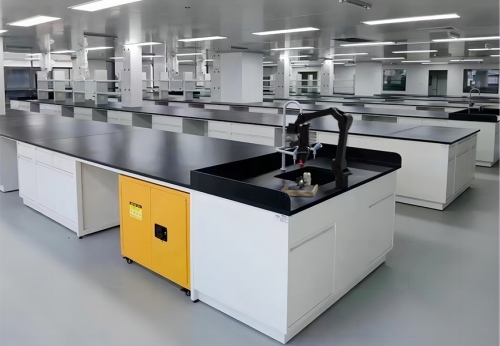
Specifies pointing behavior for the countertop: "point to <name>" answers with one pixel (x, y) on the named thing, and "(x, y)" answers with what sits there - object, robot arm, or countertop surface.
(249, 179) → the countertop surface
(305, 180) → the valve
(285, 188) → the holding jig
